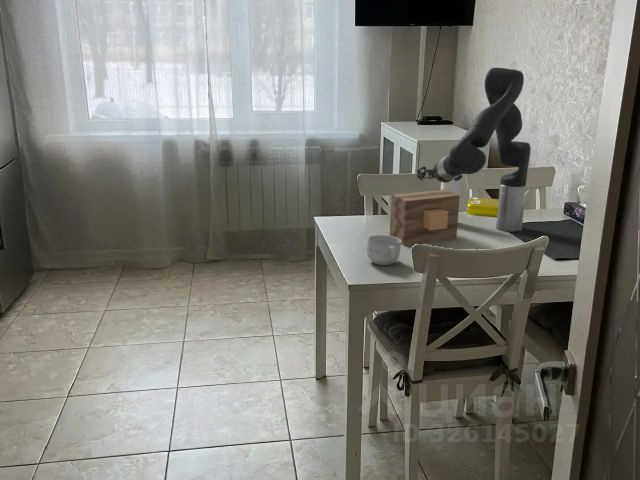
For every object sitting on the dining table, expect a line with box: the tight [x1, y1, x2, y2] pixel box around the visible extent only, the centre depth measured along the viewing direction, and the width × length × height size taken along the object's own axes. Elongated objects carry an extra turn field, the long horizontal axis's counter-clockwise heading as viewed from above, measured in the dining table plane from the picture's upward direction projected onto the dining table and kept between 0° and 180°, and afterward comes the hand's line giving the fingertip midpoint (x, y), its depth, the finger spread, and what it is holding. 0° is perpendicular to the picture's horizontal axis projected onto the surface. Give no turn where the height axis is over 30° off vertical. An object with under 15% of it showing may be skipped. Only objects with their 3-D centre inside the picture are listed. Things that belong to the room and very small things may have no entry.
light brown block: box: [422, 208, 448, 230], centre depth 219 cm, size 8×7×6 cm
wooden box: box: [389, 189, 461, 246], centre depth 224 cm, size 10×22×16 cm, turn 113°
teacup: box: [366, 234, 402, 266], centre depth 199 cm, size 14×11×8 cm
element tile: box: [466, 196, 499, 218], centre depth 264 cm, size 15×15×5 cm
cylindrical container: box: [440, 179, 461, 196], centre depth 243 cm, size 7×7×25 cm
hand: (432, 178), depth 215 cm, fingers open, 8 cm apart
